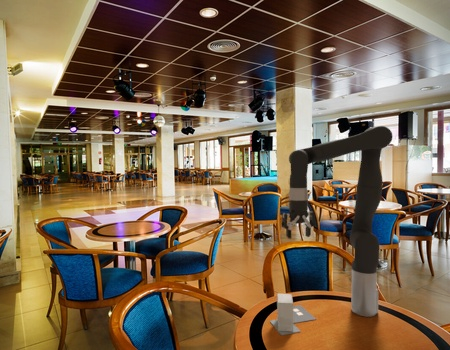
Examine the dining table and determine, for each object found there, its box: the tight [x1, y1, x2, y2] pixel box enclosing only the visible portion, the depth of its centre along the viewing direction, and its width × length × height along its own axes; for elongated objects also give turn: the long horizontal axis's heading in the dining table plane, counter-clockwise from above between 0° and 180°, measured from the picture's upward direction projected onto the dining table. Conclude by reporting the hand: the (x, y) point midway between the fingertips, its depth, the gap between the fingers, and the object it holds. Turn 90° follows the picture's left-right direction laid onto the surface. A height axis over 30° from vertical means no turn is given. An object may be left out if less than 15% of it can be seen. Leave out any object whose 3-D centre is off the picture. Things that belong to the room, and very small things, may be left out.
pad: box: [269, 319, 301, 336], centre depth 111 cm, size 8×10×1 cm
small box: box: [276, 293, 294, 332], centre depth 111 cm, size 8×6×10 cm
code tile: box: [293, 304, 317, 325], centre depth 120 cm, size 10×12×1 cm
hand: (298, 237), depth 124 cm, fingers open, 8 cm apart
